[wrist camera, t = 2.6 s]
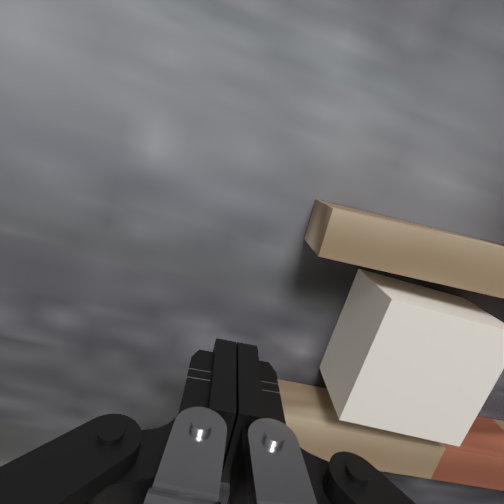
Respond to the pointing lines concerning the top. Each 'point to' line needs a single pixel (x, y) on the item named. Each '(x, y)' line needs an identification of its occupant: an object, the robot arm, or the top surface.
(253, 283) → the top surface
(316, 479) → the robot arm
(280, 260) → the top surface
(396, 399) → the ivory block
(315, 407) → the channel
